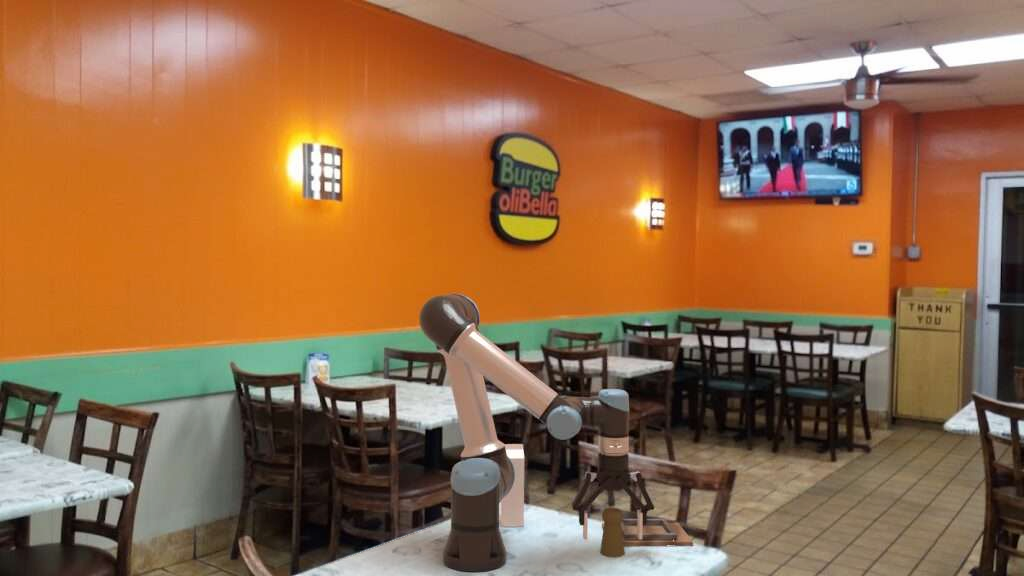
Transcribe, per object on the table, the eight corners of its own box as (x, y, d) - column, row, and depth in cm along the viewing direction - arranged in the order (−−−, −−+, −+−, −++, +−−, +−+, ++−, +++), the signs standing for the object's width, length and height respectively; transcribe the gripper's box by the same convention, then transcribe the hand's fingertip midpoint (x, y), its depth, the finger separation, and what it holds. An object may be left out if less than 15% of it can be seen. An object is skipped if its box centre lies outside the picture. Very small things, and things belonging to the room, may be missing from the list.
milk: (523, 527, 224) (524, 446, 223) (501, 527, 223) (502, 446, 223) (521, 520, 230) (522, 441, 229) (500, 520, 229) (501, 441, 229)
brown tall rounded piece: (616, 559, 199) (617, 514, 199) (595, 553, 203) (595, 509, 202) (629, 552, 204) (629, 508, 204) (607, 547, 207) (608, 504, 207)
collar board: (611, 546, 208) (611, 536, 208) (601, 526, 224) (602, 517, 224) (693, 545, 209) (693, 536, 209) (678, 526, 225) (678, 517, 225)
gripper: (564, 456, 199) (563, 543, 199) (666, 455, 199) (665, 542, 200) (561, 449, 206) (560, 533, 206) (660, 449, 207) (659, 532, 207)
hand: (612, 538), depth 203 cm, fingers open, 13 cm apart
